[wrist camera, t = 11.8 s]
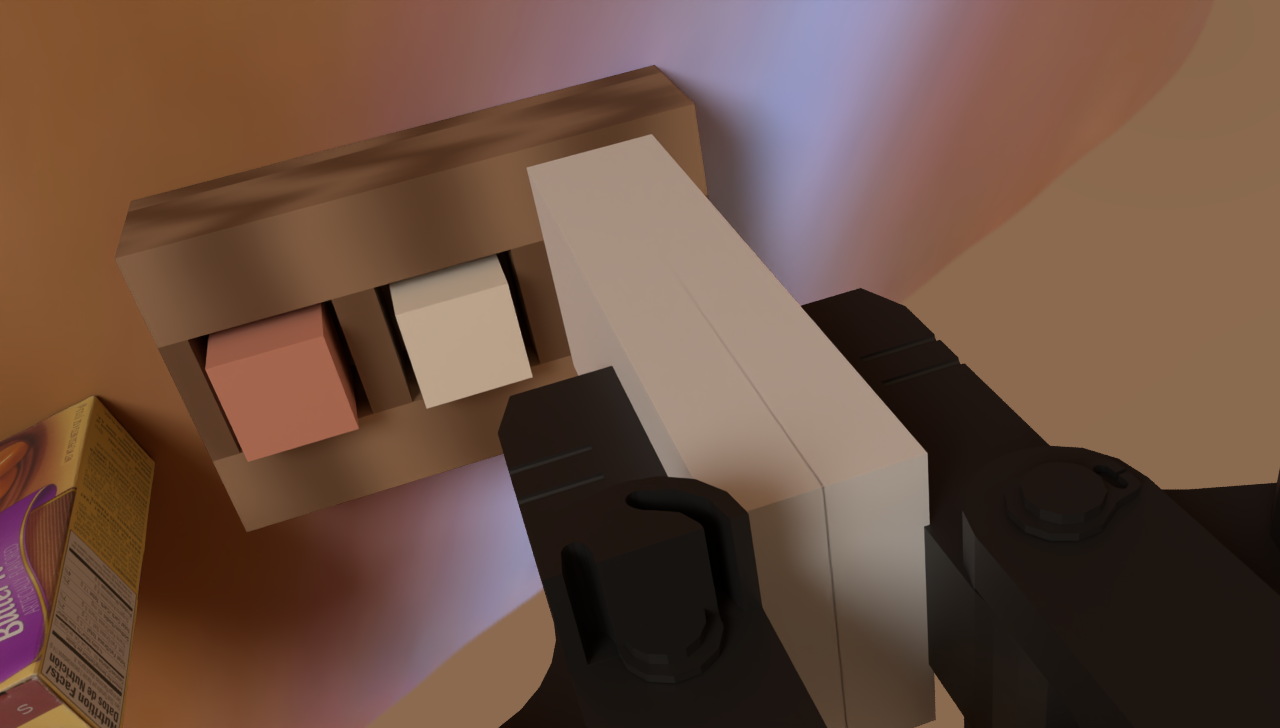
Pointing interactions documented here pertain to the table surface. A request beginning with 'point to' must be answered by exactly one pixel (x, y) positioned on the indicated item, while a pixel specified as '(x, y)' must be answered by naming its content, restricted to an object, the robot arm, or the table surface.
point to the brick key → (283, 381)
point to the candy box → (70, 568)
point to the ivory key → (460, 330)
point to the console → (378, 275)
